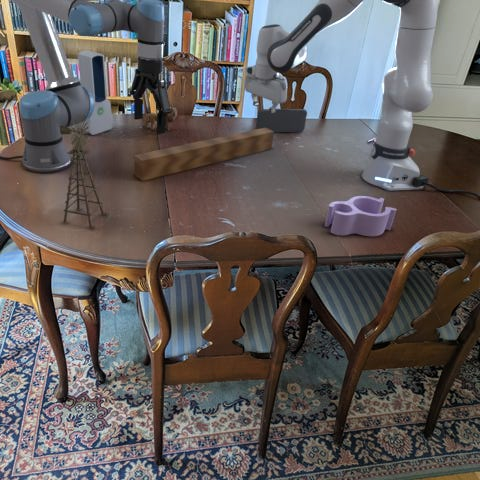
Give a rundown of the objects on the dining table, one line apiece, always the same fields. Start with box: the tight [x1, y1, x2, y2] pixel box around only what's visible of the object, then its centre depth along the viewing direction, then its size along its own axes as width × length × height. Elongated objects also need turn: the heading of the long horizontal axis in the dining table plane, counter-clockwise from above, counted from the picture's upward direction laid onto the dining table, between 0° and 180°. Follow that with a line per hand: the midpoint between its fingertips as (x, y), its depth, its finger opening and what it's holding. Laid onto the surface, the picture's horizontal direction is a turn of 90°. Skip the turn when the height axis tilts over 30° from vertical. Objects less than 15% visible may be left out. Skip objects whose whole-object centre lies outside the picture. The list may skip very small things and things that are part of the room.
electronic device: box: [77, 49, 114, 136], centre depth 182 cm, size 12×8×30 cm, turn 148°
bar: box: [133, 128, 275, 182], centre depth 172 cm, size 60×5×7 cm, turn 131°
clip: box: [324, 195, 398, 237], centre depth 141 cm, size 20×12×7 cm, turn 109°
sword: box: [367, 137, 376, 144], centre depth 215 cm, size 31×3×1 cm, turn 126°
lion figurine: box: [142, 106, 178, 132], centre depth 195 cm, size 15×5×9 cm, turn 110°
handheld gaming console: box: [255, 108, 308, 133], centre depth 206 cm, size 23×3×10 cm, turn 108°
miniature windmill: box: [59, 115, 105, 229], centre depth 124 cm, size 9×8×30 cm
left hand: (149, 126), depth 151 cm, fingers open, 13 cm apart
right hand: (263, 108), depth 180 cm, fingers open, 8 cm apart
